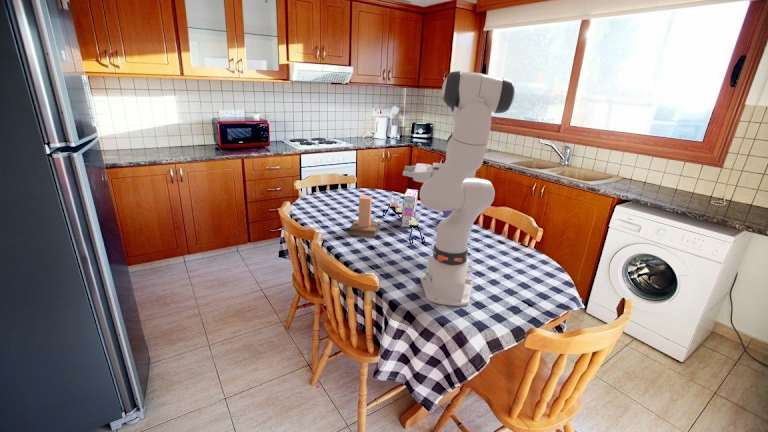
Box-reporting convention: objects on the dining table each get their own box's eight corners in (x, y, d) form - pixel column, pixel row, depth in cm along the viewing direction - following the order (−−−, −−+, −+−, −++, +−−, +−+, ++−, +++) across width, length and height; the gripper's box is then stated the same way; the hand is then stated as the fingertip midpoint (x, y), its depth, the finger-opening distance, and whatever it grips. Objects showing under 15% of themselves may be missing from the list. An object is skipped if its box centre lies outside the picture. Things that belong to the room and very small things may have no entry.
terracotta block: (368, 227, 176) (370, 199, 172) (358, 226, 177) (359, 198, 172) (370, 224, 181) (371, 196, 176) (360, 223, 181) (361, 195, 177)
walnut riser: (374, 237, 174) (375, 231, 173) (349, 234, 175) (349, 228, 174) (378, 228, 185) (378, 222, 184) (354, 225, 186) (354, 220, 185)
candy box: (412, 228, 187) (415, 196, 181) (400, 227, 188) (403, 195, 182) (415, 219, 200) (418, 189, 194) (404, 218, 201) (407, 188, 195)
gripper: (436, 161, 170) (406, 158, 171) (436, 171, 151) (402, 168, 152) (435, 175, 172) (405, 172, 173) (435, 186, 153) (401, 183, 154)
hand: (403, 170), depth 163 cm, fingers open, 8 cm apart
